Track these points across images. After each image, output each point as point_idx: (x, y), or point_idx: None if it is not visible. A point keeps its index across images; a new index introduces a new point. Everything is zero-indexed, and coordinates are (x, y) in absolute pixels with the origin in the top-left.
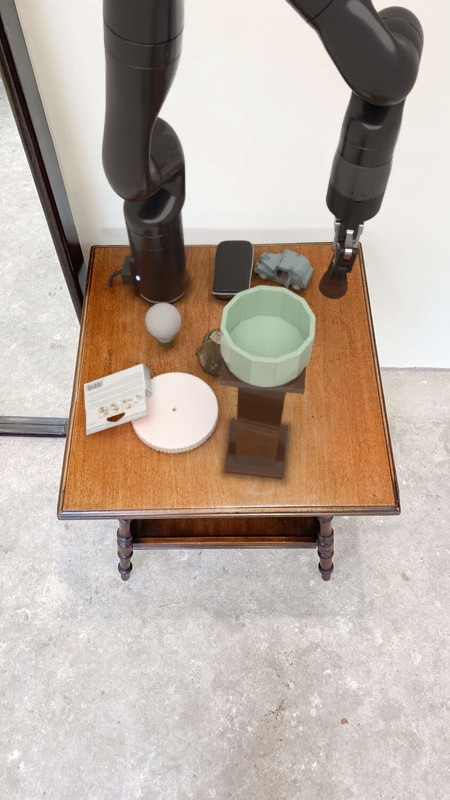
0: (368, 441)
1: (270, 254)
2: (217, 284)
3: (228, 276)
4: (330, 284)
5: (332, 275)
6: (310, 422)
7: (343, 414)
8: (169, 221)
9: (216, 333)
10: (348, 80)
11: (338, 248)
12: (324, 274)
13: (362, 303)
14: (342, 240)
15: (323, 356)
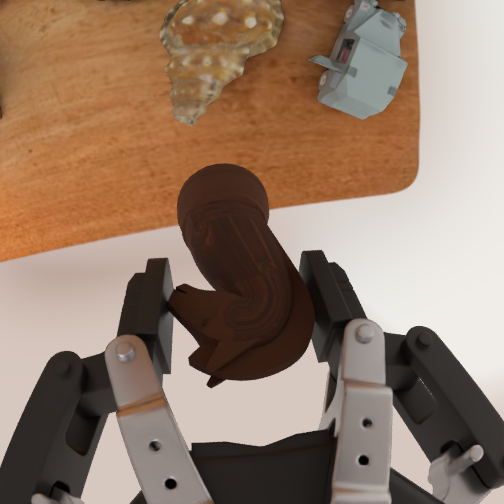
0: (27, 235)
1: (397, 31)
2: None
3: None
4: (188, 221)
5: (146, 275)
6: (20, 150)
7: (50, 197)
8: None
9: None
10: None
11: (43, 500)
12: (234, 196)
13: (291, 205)
14: (131, 501)
15: (152, 145)
